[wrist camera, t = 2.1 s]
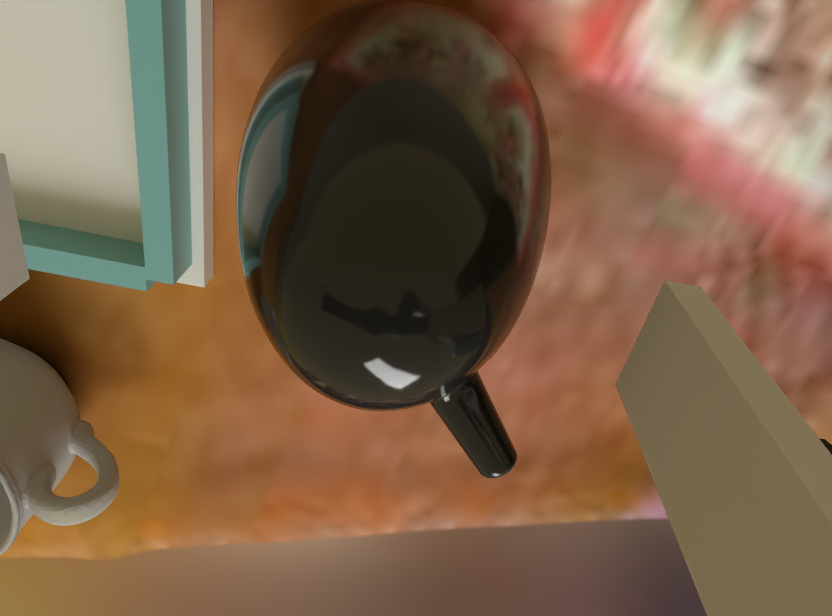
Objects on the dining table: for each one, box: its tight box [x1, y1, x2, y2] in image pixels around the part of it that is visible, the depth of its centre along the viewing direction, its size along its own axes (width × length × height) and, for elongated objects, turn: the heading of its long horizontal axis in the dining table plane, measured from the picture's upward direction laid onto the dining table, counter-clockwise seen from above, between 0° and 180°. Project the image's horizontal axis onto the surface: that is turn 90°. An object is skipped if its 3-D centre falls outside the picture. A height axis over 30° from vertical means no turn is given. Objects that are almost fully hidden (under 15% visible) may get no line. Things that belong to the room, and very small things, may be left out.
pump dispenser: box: [236, 0, 551, 478], centre depth 17 cm, size 10×10×15 cm
